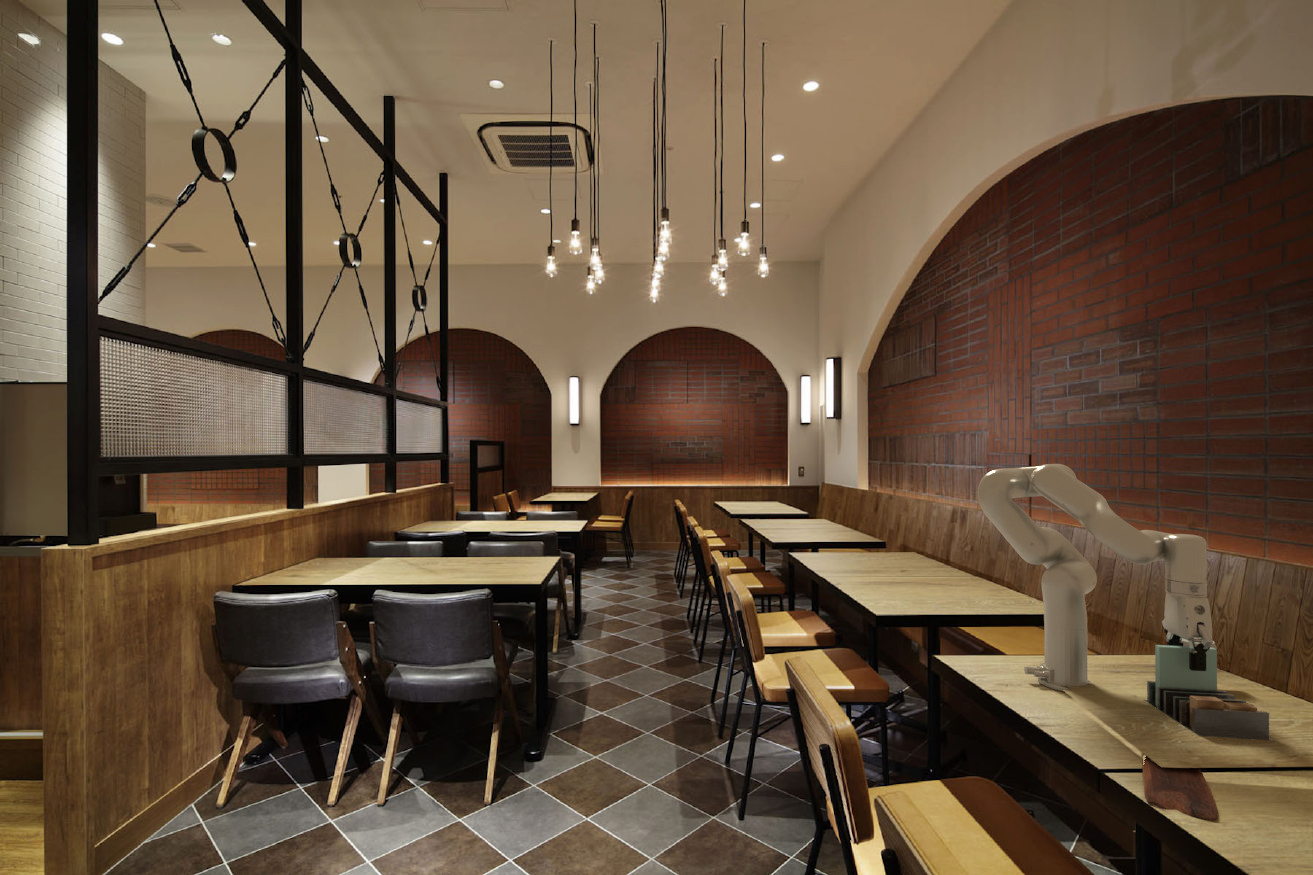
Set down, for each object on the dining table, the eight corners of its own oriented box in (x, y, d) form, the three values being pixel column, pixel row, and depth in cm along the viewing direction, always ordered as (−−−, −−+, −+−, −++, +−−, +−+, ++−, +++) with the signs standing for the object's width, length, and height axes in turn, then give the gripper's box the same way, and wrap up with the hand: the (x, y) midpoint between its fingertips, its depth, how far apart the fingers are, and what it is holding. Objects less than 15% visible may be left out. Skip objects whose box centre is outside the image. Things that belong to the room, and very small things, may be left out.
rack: (1199, 742, 138) (1199, 711, 138) (1143, 705, 158) (1143, 678, 158) (1274, 747, 136) (1274, 715, 136) (1208, 709, 156) (1208, 681, 156)
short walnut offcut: (1230, 732, 140) (1230, 706, 140) (1222, 727, 142) (1222, 701, 142) (1257, 734, 139) (1257, 707, 139) (1248, 729, 141) (1248, 703, 142)
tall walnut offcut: (1197, 730, 141) (1197, 699, 141) (1189, 725, 143) (1189, 695, 143) (1223, 732, 140) (1223, 701, 140) (1215, 727, 142) (1215, 696, 142)
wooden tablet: (1139, 743, 136) (1202, 750, 130) (1141, 754, 136) (1203, 761, 130) (1143, 800, 114) (1218, 811, 108) (1145, 813, 114) (1221, 825, 108)
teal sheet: (1159, 707, 153) (1159, 646, 153) (1155, 704, 155) (1155, 644, 155) (1217, 710, 151) (1216, 649, 152) (1212, 707, 153) (1212, 647, 153)
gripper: (1230, 597, 144) (1231, 678, 144) (1179, 581, 161) (1180, 653, 161) (1192, 595, 145) (1193, 676, 145) (1146, 579, 162) (1146, 652, 162)
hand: (1186, 664), depth 153 cm, fingers open, 7 cm apart
